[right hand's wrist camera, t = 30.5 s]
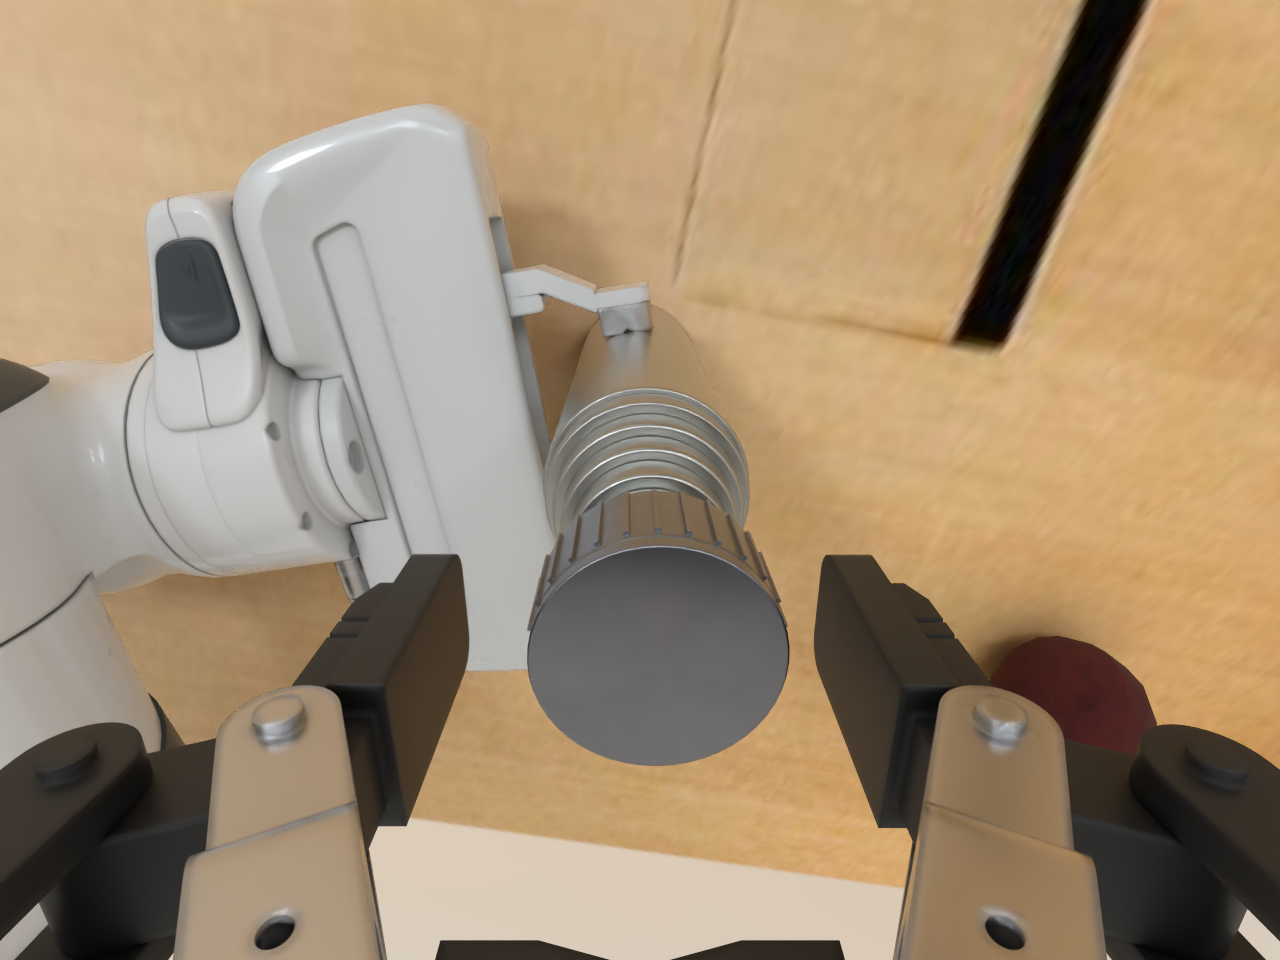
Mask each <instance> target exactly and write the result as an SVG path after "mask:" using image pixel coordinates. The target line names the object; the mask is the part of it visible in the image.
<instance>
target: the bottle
mask: <svg viewBox="0 0 1280 960" xmlns="http://www.w3.org/2000/svg"><path fill="white" fill-rule="evenodd" d="M651 308H652V316H653V324H654V328H652V329H650V330H646V331H635V332H633V331H631V330H629V329H627V330H626V331H625V332H624V333H622V334H619V335H615V336H608V337H603V336H602V331H601V325H600V320H598V321H597V322H596V323H595V324H594V325H593V327H592V328H591V330H590V332H589V333H588V335H587V338H586V340H585V343H584V346H583V349H582V352H581V355H580V358H579V361H578V364H577V368H576V371H575V374H574V377H573V380H572V383H571V386H570V389H569V392H568V395H567V398H566V401H565V404H564V407H563V410H562V413H561V416H560V419H559V422H558V425H557V428H556V432H555V435H554V438H553V441H552V444H551V447H550V450H549V453H548V456H547V460H546V464H545V469H544V476H543V492H544V498H545V509H546V515H547V519H548V523H549V526H550V529H551V531H552V533H553V535H554V538H555V540H556V538H557V535H558V534H559V533H561V534H563V532H564V531H565V530H566V529H567V528H568V527H569V526H570V525H571V524H572V523H573V522H574V519H575V517H576V516H577V515H578V514H579V515H580V516H581V515H583V514H584V513H585V512H587V511H588V510H590V509H592V508H593V507H595V506H597V502H599V501H601V500H602V501H603V502H604V501H607V500H609V499H612V498H616V497H619V496H622V495H624V492H629V494H631V493H636V492H643V491H652V489H657V491H666V492H675V493H679V492H680V491H683V492H685V495H689V496H693V497H695V498H698V499H701V500H703V501H706V499H707V500H710V501H711V504H712V505H714V506H715V507H717V508H719V509H720V510H722V511H723V512H725V513H726V514H727V515H728V514H729V513H731V514H732V515H733V517H734V520H735V521H736V522H737V523H738V524H739V525H740V527H741V528H742V529H743V526H744V524H745V521H746V517H747V513H748V507H749V472H748V466H747V461H746V457H745V454H744V451H743V448H742V446H741V444H740V442H739V440H738V438H737V436H736V434H735V432H734V430H733V428H732V426H731V424H730V422H729V420H728V418H727V416H726V414H725V411H724V409H723V407H722V405H721V403H720V401H719V399H718V397H717V395H716V393H715V391H714V389H713V387H712V385H711V383H710V381H709V379H708V377H707V375H706V373H705V371H704V369H703V367H702V365H701V363H700V361H699V359H698V357H697V355H696V353H695V351H694V348H693V346H692V344H691V342H690V340H689V338H688V336H687V334H686V332H685V330H684V329H683V327H682V326H681V324H680V323H679V322H678V321H677V320H676V319H675V318H674V317H673V316H671V315H670V314H669V313H667V312H666V311H664V310H662V309H660V308H658V307H655V306H652V305H651Z"/></svg>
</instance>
